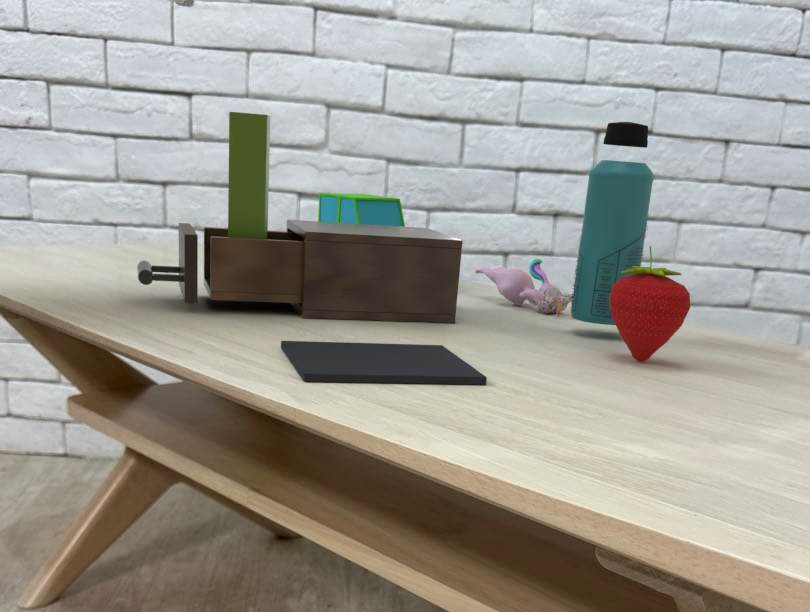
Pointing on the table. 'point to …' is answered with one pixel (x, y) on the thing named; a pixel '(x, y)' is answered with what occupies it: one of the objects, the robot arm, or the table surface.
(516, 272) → the pink elongated figure
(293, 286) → the drawer
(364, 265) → the cabinet
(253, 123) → the tall olive green pillar
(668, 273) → the strawberry
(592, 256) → the beverage bottle
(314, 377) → the mat
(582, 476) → the table surface
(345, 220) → the blue green-edged box
